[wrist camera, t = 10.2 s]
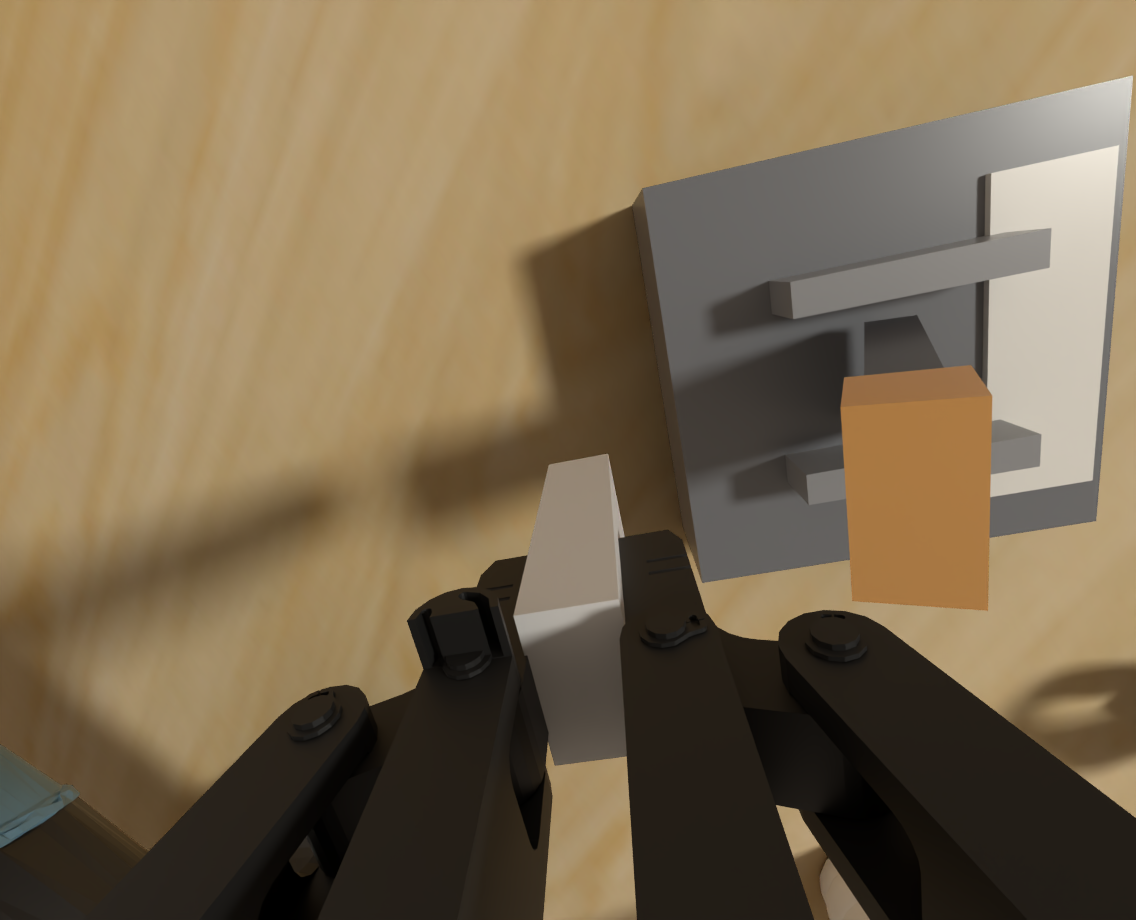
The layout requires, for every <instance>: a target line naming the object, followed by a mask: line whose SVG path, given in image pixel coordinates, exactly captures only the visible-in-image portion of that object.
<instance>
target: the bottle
mask: <svg viewBox="0 0 1136 920" xmlns="http://www.w3.org/2000/svg"><path fill="white" fill-rule="evenodd" d="M820 888H821V893H822V895H823V898H824V901H825V904H826V906H827V913H828V916H829V919H830V920H870V919H869V918H868V916H867V915H866V913H865V912H864V910H863V909H862V907H861V906H860V904H859V903H858V901H857V900H856V898H855V897H854V895H853V894H852V892H851V891H850V889H849V888H848V886H847V885H846V883H845V882H844V880H843V879H842V877H841V876H840V874H839V873H838V871H837V870H836V868H835V867H834V865H833V864H832V862H831V861H830V859H829V858H828V859H827V860H826V862H825V864H824V867H823V869H822V871H821V874H820Z"/></svg>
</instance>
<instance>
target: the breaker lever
mask: <svg viewBox="0 0 1136 920" xmlns="http://www.w3.org/2000/svg"><path fill="white" fill-rule="evenodd" d="M841 423H842V439H843V455H844V471H845V488H846V504H847V520H848V536H849V552H850V568H851V585H852V601H860V602H874V603H888V604H903V605H917V606H931V607H945V608H960V609H974V610H988V581H989V533H990V486H991V439H992V394H991V393H990V391H989V390H988V389H987V387H986V386H985V384H984V383H983V381H982V380H981V378H980V377H979V376H978V374H977V373H976V371H975V370H974V368H973V367H972V366H971V365H967V366H957V367H946V368H944V367H943V365H942V363H941V361H940V359H939V357H938V355H937V353H936V351H935V349H934V347H933V345H932V343H931V341H930V339H929V337H928V335H927V333H926V331H925V330H924V328H923V326H922V324H921V322H920V320H919V318H918V316H917V315H914V316H906V317H899V318H891V319H884V320H877V321H869V322H864V376H853V377H844V383H843V391H842V399H841Z"/></svg>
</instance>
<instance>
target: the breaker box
mask: <svg viewBox="0 0 1136 920" xmlns="http://www.w3.org/2000/svg"><path fill="white" fill-rule="evenodd" d="M1132 82H1133V76H1129V77H1125V78H1120V79H1116V80H1112V81H1107V82H1103V83H1099V84H1094V85H1090V86H1086V87H1081V88H1077V89H1072V90H1068V91H1064V92H1059V93H1055V94H1051V95H1046V96H1042V97H1038V98H1033V99H1029V100H1025V101H1020V102H1016V103H1012V104H1007V105H1003V106H999V107H994V108H990V109H985V110H981V111H977V112H972V113H968V114H964V115H959V116H955V117H951V118H946V119H942V120H938V121H933V122H929V123H925V124H920V125H916V126H912V127H907V128H903V129H898V130H894V131H890V132H885V133H881V134H877V135H872V136H868V137H864V138H859V139H855V140H851V141H846V142H842V143H838V144H833V145H829V146H825V147H820V148H816V149H812V150H807V151H803V152H798V153H794V154H790V155H785V156H781V157H777V158H772V159H768V160H764V161H759V162H755V163H751V164H746V165H742V166H738V167H733V168H729V169H725V170H720V171H716V172H711V173H707V174H703V175H698V176H694V177H690V178H685V179H681V180H677V181H672V182H668V183H664V184H659V185H655V186H651V187H646V188H642V190H641V192H640V193H639V195H638V197H637V198H636V200H635V202H634V203H633V205H632V208H633V214H634V221H635V227H636V233H637V240H638V246H639V252H640V259H641V265H642V271H643V278H644V284H645V290H646V296H647V303H648V309H649V315H650V322H651V328H652V334H653V341H654V347H655V353H656V360H657V366H658V372H659V379H660V385H661V391H662V398H663V404H664V410H665V417H666V423H667V429H668V436H669V442H670V448H671V454H672V461H673V467H674V473H675V480H676V486H677V492H678V499H679V505H680V511H681V518H682V524H683V529H684V532H685V535H686V538H687V540H688V543H689V546H690V549H691V552H692V555H693V558H694V560H695V563H696V566H697V569H698V572H699V575H700V577H701V580H702V583H704V582H711V581H717V580H723V579H730V578H736V577H743V576H749V575H755V574H762V573H768V572H774V571H781V570H787V569H793V568H800V567H806V566H813V565H819V564H825V563H832V562H838V561H844V560H850V552H849V536H848V520H847V504H846V488H845V471H844V455H843V439H842V423H841V399H842V391H843V383H844V377H853V376H864V322H869V321H877V320H884V319H891V318H899V317H906V316H914V315H917V316H918V318H919V320H920V322H921V324H922V326H923V328H924V330H925V331H926V333H927V335H928V337H929V339H930V341H931V343H932V345H933V347H934V349H935V351H936V353H937V355H938V357H939V359H940V361H941V363H942V365H943V367H944V368H946V367H957V366H967V365H971V366H972V367H973V368H974V370H975V371H976V373H977V374H978V376H979V377H980V378H981V380H982V381H983V383H984V384H985V386H986V387H987V389H988V390H989V391H990V393H991V394H992V439H991V486H990V533H989V538H991V537H997V536H1003V535H1010V534H1016V533H1023V532H1029V531H1035V530H1042V529H1048V528H1054V527H1061V526H1067V525H1073V524H1080V523H1086V522H1093V521H1096V516H1097V504H1098V492H1099V480H1100V468H1101V456H1102V444H1103V432H1104V420H1105V407H1106V395H1107V383H1108V371H1109V359H1110V347H1111V335H1112V323H1113V311H1114V299H1115V287H1116V275H1117V263H1118V251H1119V239H1120V227H1121V215H1122V203H1123V191H1124V179H1125V167H1126V155H1127V143H1128V130H1129V118H1130V106H1131V94H1132Z"/></svg>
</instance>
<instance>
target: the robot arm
mask: <svg viewBox="0 0 1136 920" xmlns="http://www.w3.org/2000/svg"><path fill="white" fill-rule="evenodd" d="M407 622H408V625H409V628H410V631H411V634H412V637H413V640H414V643H415V646H416V649H417V651H418V654H419V657H420V660H421V663H422V666H423V669H424V670H423V672H422V674H421V677H420V679H419V681H418V684H417V686H416V688H415V689H413V690H411V691H409V692H407V693H404V694H402V695H399V696H397V697H394V698H391V699H389V700H386V701H383V702H380V703H378V704H375V705H372V706H369V704H368V701H367V698H366V696H365V694H364V693H363V692H362V691H361V690H360V689H359V688H357V687H353V686H349V685H342V686H334V687H329V688H325V689H322V690H321V691H316V692H314V693H311V694H309V695H308V696H307V697H305V698H304V699H302V700H300V701H298V702H297V703H295V704H293V705H292V706H291V707H290V708H289V709H288V710H286V711H285V712H284V713H283V714H282V715H280V716H279V717H278V718H277V719H276V720H275V721H274V722H273V723H272V724H271V725H270V726H269V727H268V729H267V730H266V731H265V732H264V733H263V734H262V735H261V736H260V737H259V738H258V739H257V740H256V741H255V742H254V743H253V744H252V745H251V746H250V747H249V748H248V749H247V750H246V751H245V752H244V753H243V754H242V755H241V756H240V758H239V759H238V760H237V761H236V762H235V763H234V764H233V765H232V766H231V767H230V768H229V769H228V770H227V771H226V772H225V773H224V774H223V775H222V776H221V777H220V778H219V779H218V780H217V781H216V782H215V783H214V784H213V786H212V787H211V788H210V789H209V790H208V791H207V792H206V793H205V794H204V795H203V796H202V797H201V798H200V799H199V800H198V801H197V802H196V803H195V804H194V805H193V806H192V807H191V808H190V809H189V810H188V811H187V812H186V813H185V815H184V816H183V817H182V818H181V819H180V820H179V821H178V822H177V823H176V824H175V825H174V826H173V827H172V828H171V829H170V830H169V831H168V832H167V833H166V834H165V835H164V836H163V837H162V838H161V839H160V840H159V841H158V843H157V844H156V845H155V846H154V847H153V848H152V849H151V850H150V851H149V852H148V851H147V850H146V849H144V848H143V847H142V846H141V845H139V844H138V843H137V842H135V841H134V840H133V839H132V838H130V837H129V836H128V835H126V834H125V833H124V832H123V831H121V830H120V829H119V828H118V827H116V826H115V825H114V824H112V823H111V822H110V821H109V820H107V819H106V818H105V817H103V816H102V815H101V814H100V813H98V812H97V811H96V810H94V809H93V808H92V807H91V806H89V805H88V804H87V803H85V802H84V801H83V800H82V799H80V798H79V797H78V796H79V795H80V793H79V792H78V791H77V790H76V789H75V788H74V787H73V786H72V785H68V784H64V785H60V784H59V783H57V782H56V781H54V780H53V779H51V778H50V777H48V776H47V775H45V774H44V773H42V772H41V771H40V770H38V769H37V768H35V767H34V766H32V765H31V764H29V763H28V762H26V761H25V760H23V759H22V758H20V757H19V756H17V755H16V754H15V753H13V752H12V751H10V750H9V749H7V748H6V747H4V746H3V745H1V744H0V920H543V913H544V900H545V887H546V874H547V861H548V848H549V835H550V822H551V809H552V790H551V783H550V780H549V776H548V773H547V769H546V766H545V765H546V754H547V744H548V743H549V746H550V750H551V754H552V757H553V761H554V764H555V765H563V764H571V763H579V762H586V761H594V760H602V759H610V758H618V757H625V756H627V767H628V783H629V799H630V815H631V831H632V847H633V863H634V879H635V895H636V911H637V920H814V918H813V915H812V912H811V909H810V906H809V903H808V900H807V897H806V894H805V891H804V888H803V885H802V882H801V879H800V876H799V873H798V870H797V867H796V864H795V861H794V858H793V855H792V852H791V849H790V846H789V843H788V840H787V837H786V834H785V831H784V828H783V825H782V822H781V819H780V816H779V813H778V810H777V807H776V805H779V806H785V807H790V808H796V809H799V811H800V813H801V816H802V818H803V820H804V822H805V823H806V825H807V826H808V828H809V829H810V831H811V832H812V834H813V835H814V837H815V838H816V840H817V841H818V843H819V844H820V846H821V847H822V849H823V850H824V852H825V853H826V855H827V856H828V858H829V859H830V861H831V862H832V864H833V865H834V867H835V868H836V870H837V871H838V873H839V874H840V876H841V877H842V879H843V880H844V882H845V883H846V885H847V886H848V888H849V889H850V891H851V892H852V894H853V895H854V897H855V898H856V900H857V901H858V903H859V904H860V906H861V907H862V909H863V910H864V912H865V913H866V915H867V916H868V918H869V919H870V920H1136V818H1135V817H1134V816H1132V815H1131V814H1130V813H1128V812H1127V811H1126V810H1124V809H1123V808H1122V807H1121V806H1119V805H1118V804H1117V803H1115V802H1114V801H1113V800H1111V799H1110V798H1109V797H1107V796H1106V795H1105V794H1103V793H1102V792H1101V791H1100V790H1098V789H1097V788H1096V787H1094V786H1093V785H1092V784H1090V783H1089V782H1088V781H1086V780H1085V779H1084V778H1082V777H1081V776H1080V775H1078V774H1077V773H1076V772H1075V771H1073V770H1072V769H1071V768H1069V767H1068V766H1067V765H1065V764H1064V763H1063V762H1061V761H1060V760H1059V759H1057V758H1056V757H1055V756H1054V755H1052V754H1051V753H1050V752H1048V751H1047V750H1046V749H1044V748H1043V747H1042V746H1040V745H1039V744H1038V743H1036V742H1035V741H1034V740H1032V739H1031V738H1030V737H1029V736H1027V735H1026V734H1025V733H1023V732H1022V731H1021V730H1019V729H1018V728H1017V727H1015V726H1014V725H1013V724H1011V723H1010V722H1009V721H1008V720H1006V719H1005V718H1004V717H1002V716H1001V715H1000V714H998V713H997V712H996V711H994V710H993V709H992V708H990V707H989V706H988V705H986V704H985V703H984V702H983V701H981V700H980V699H979V698H977V697H976V696H975V695H973V694H972V693H971V692H969V691H968V690H967V689H965V688H964V687H963V686H962V685H960V684H959V683H958V682H956V681H955V680H954V679H952V678H951V677H950V676H948V675H947V674H946V673H944V672H943V671H942V670H940V669H939V668H938V667H937V666H935V665H934V664H933V663H931V662H930V661H929V660H927V659H926V658H925V657H923V656H922V655H921V654H919V653H918V652H917V651H916V650H914V649H913V648H912V647H910V646H909V645H908V644H906V643H905V642H904V641H902V640H901V639H900V638H898V637H897V636H896V635H894V634H893V633H892V632H891V631H889V630H888V629H887V628H885V627H884V626H882V625H880V624H879V623H877V622H875V621H873V620H871V619H869V618H868V617H865V616H862V615H858V614H854V613H850V612H846V611H831V610H822V611H816V612H810V613H804V614H802V615H800V616H798V617H796V618H794V619H792V620H790V621H788V622H787V623H786V625H785V626H784V627H783V628H782V629H781V630H780V632H779V640H778V641H770V640H756V639H749V638H742V637H739V636H736V635H733V634H730V633H727V632H725V631H724V630H722V629H720V628H718V627H717V626H716V625H715V623H714V622H713V621H712V619H711V618H710V616H709V615H708V614H706V612H705V608H704V605H703V602H702V599H701V596H700V593H699V590H698V587H697V584H696V581H695V578H694V575H693V571H692V568H691V565H690V562H689V559H688V556H687V553H686V550H685V547H684V544H683V541H682V539H680V538H679V537H678V536H676V535H675V534H673V533H672V532H670V531H669V530H663V531H657V532H651V533H645V534H640V535H634V536H628V537H624V531H623V526H622V521H621V516H620V511H619V506H618V501H617V496H616V491H615V486H614V481H613V476H612V471H611V466H610V461H609V456H608V454H603V455H598V456H592V457H587V458H582V459H576V460H571V461H565V462H560V463H555V464H549V466H548V471H547V475H546V479H545V483H544V488H543V492H542V496H541V500H540V505H539V509H538V513H537V517H536V522H535V526H534V530H533V534H532V539H531V543H530V547H529V552H528V555H527V556H521V557H515V558H509V559H503V560H498V561H495V562H494V563H493V564H492V565H491V566H490V567H489V568H488V569H487V570H486V571H485V572H484V573H483V574H482V575H481V577H480V580H479V582H478V585H477V587H473V588H461V589H457V590H454V591H450V592H446V593H444V594H441V595H439V596H437V597H435V598H433V599H431V600H429V601H427V602H426V603H425V604H423V605H422V606H420V607H419V608H418V609H416V610H415V611H414V613H413V614H412V615H411V616H410V618H409V619H408V620H407Z"/></svg>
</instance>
